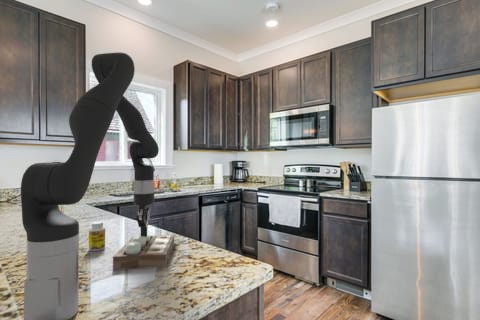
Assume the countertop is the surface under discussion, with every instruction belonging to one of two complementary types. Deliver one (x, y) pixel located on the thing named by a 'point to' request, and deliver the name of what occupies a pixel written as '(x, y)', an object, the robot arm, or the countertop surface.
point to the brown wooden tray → (146, 254)
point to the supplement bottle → (97, 236)
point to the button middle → (140, 240)
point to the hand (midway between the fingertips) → (144, 236)
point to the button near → (133, 248)
